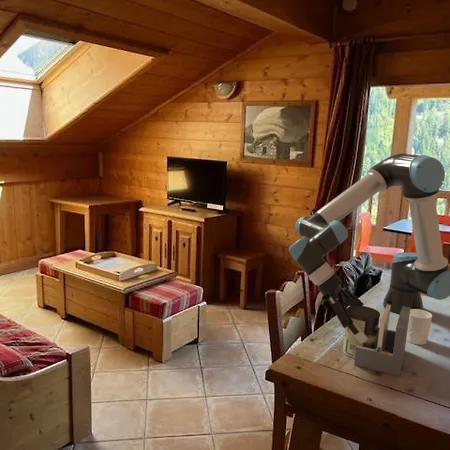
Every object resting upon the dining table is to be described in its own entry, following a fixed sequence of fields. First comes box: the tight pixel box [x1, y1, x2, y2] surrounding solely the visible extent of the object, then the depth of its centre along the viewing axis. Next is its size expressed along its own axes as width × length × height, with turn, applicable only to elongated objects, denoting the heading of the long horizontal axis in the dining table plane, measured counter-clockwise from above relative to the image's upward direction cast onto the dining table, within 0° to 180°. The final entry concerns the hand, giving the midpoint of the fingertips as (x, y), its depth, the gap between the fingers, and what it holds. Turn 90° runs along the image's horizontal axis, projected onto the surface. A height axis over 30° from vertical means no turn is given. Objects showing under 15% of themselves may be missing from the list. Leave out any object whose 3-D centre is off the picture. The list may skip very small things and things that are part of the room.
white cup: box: [406, 309, 433, 346], centre depth 156 cm, size 8×8×10 cm
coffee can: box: [342, 305, 381, 359], centre depth 146 cm, size 10×10×14 cm
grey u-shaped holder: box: [354, 306, 410, 377], centre depth 143 cm, size 13×18×15 cm
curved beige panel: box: [376, 304, 391, 352], centre depth 142 cm, size 1×18×14 cm, turn 154°
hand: (368, 332), depth 145 cm, fingers open, 13 cm apart
